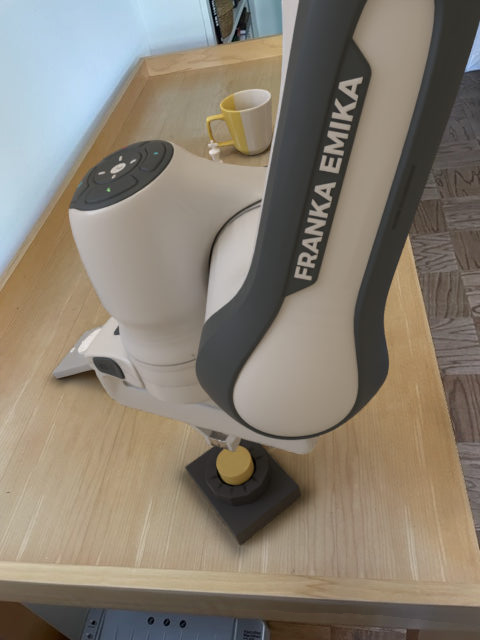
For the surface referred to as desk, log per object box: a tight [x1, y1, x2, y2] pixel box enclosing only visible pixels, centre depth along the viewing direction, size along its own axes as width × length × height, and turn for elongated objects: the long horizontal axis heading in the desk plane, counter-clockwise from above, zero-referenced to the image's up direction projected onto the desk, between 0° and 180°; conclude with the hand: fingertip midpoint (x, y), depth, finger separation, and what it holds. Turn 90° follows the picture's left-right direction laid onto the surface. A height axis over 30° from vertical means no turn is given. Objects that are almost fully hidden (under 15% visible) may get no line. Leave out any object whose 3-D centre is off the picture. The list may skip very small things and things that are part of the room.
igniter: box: [184, 438, 302, 546], centre depth 56 cm, size 10×8×4 cm
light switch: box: [51, 324, 105, 380], centre depth 73 cm, size 8×6×14 cm
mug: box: [205, 88, 273, 156], centre depth 109 cm, size 14×10×10 cm
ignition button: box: [216, 446, 254, 485], centre depth 55 cm, size 4×4×2 cm
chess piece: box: [207, 140, 224, 163], centre depth 99 cm, size 5×5×10 cm
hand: (224, 442), depth 52 cm, fingers closed
